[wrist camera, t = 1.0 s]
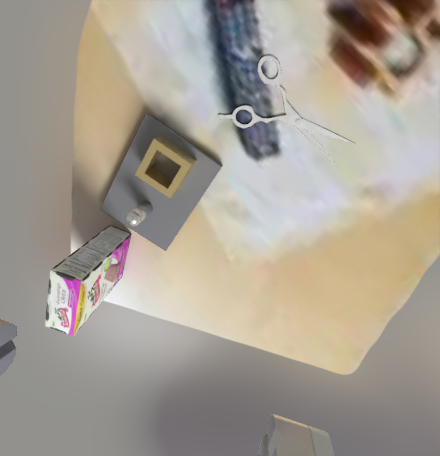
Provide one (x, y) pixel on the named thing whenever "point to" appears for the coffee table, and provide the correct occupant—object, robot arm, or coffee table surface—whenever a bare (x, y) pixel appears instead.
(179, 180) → the brass collar
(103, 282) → the candy bar box
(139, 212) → the steel post
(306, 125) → the scissors
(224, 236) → the coffee table surface
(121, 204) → the slate mat
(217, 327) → the coffee table surface
